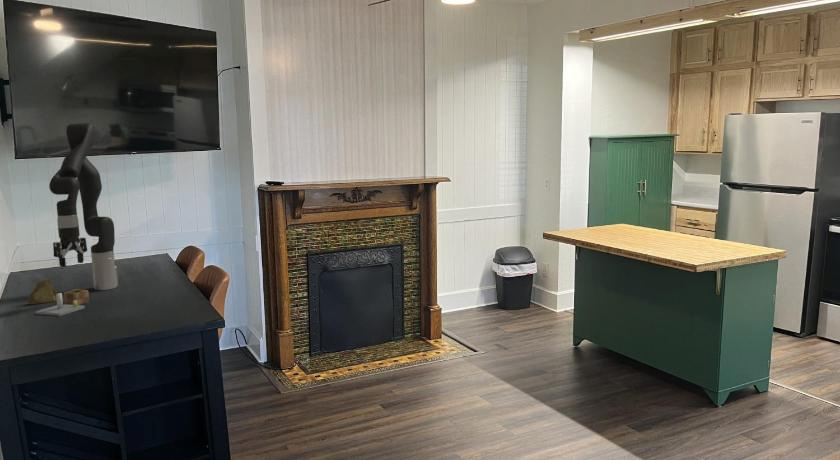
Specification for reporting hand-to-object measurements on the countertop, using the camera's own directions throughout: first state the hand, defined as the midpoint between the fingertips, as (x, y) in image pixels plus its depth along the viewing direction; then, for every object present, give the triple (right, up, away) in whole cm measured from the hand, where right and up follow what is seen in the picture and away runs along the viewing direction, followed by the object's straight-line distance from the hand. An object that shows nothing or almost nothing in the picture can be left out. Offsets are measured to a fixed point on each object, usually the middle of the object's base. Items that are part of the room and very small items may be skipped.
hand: (72, 264), depth 259 cm
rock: (-15, -16, +5) cm, 23 cm away
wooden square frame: (+1, -16, +2) cm, 16 cm away
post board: (+1, -18, -10) cm, 21 cm away
